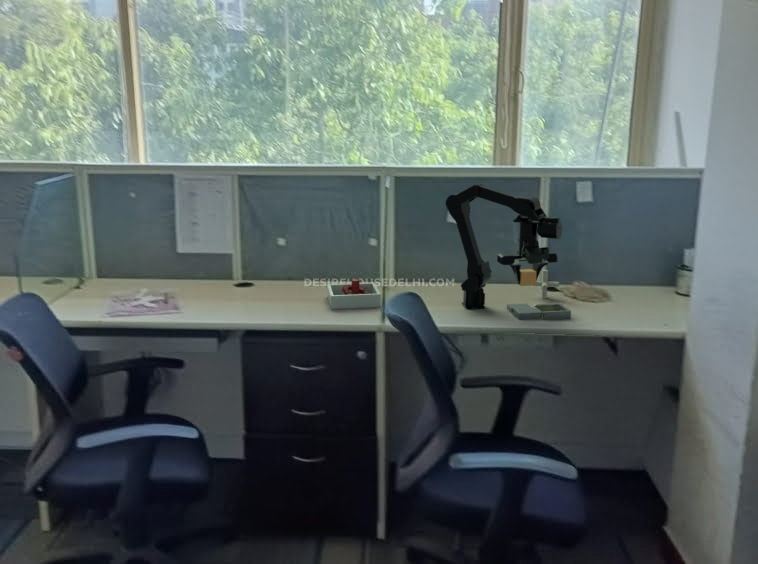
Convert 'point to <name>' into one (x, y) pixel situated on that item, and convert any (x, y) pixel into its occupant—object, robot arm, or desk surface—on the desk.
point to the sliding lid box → (543, 312)
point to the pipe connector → (545, 284)
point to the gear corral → (353, 297)
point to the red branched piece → (353, 288)
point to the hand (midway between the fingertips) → (526, 283)
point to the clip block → (527, 277)
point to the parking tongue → (516, 306)
